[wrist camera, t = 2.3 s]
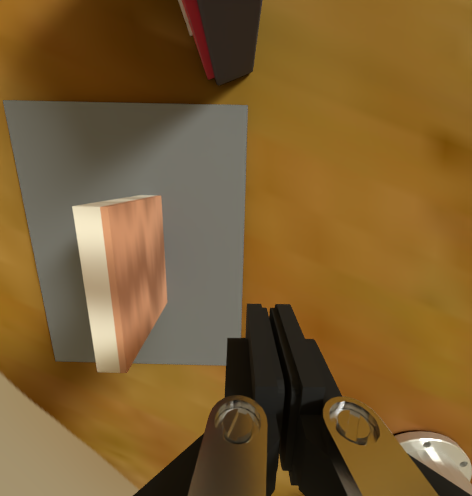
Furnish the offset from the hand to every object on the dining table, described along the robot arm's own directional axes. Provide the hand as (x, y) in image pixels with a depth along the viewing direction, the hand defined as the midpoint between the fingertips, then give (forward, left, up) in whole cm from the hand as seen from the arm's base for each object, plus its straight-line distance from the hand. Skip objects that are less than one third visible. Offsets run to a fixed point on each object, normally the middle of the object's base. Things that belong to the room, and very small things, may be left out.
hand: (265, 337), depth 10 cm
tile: (-1, +9, -13) cm, 16 cm away
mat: (-1, +10, -14) cm, 17 cm away
